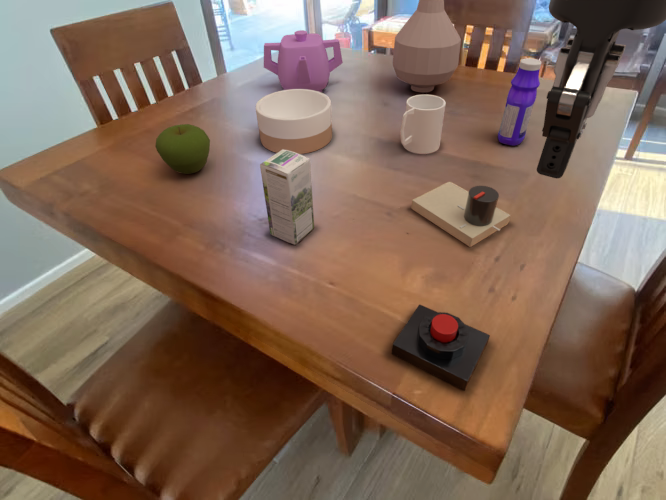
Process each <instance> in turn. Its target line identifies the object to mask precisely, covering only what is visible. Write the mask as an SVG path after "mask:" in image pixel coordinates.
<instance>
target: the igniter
mask: <svg viewBox="0 0 666 500" xmlns="http://www.w3.org/2000/svg"><path fill="white" fill-rule="evenodd" d="M440 314H446V315H450V316H452V317H453V318H454V319H455V320H456V321H457V323H458V330H457V334H456V337H455V339H454V340H453V341H451V342H448V343H442V342H439V341H437V340H435V339H434V338H433V337H432V335H431V332H430V329H431V324H432V320H433V318H434V317H435V316H437V315H440ZM490 337H491V335H490V334H489V333H487V332H483V331H482V330H479V329H478V328H475V327H473V326H470V325H468V324H466V323H464V321H463V320H462V319H461V318H460V317H459V316H456V315H454V314H452V313H449V312H445V311H443V312H441V311H437V310H433V309H431V308H430V307H426V306H424V305H422V304H418V306H417V307H416V308H415V310H414V311H413V313H412V314H411V316H410V317H409V319H408V320H407V322H406V323H405V325H404V326H403V327H402V329H401V331H400V332H399V334H398V336H397V337H396V338H395V339H394V341H393V342H392V346H391V347H392V349H391V355H392V356H395V357H397V358H399V359H401V360H402V361H405V362H407V363H408V364H411V365H413V366H414V367H416V368H419V369H421V370H422V371H425V372H427V373H428V374H431V375H432V376H434V377H436V378H438V379H440V380H442V381H444V382H445V383H448V384H450V385H452V386H454V387H456V388H458V389H460V390H462V391H466V389H467V387H468V385H469V383H470V381H471V379H472V377H473V375H474V372H475V371H476V369H477V367H478V364H479V362H480V360H481V358H482V356H483V354H484V352H485V350H486V348H487V346H488V343H489V340H490Z"/></svg>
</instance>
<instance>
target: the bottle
mask: <svg viewBox="0 0 666 500" xmlns="http://www.w3.org/2000/svg"><path fill="white" fill-rule="evenodd" d="M541 66H542V61H541V60H540V59H538V58H534V57H533V58H532V57H531V58H530V57H526V58H521V59H520V60H519V64H518V68H517V71H516V73H515V75H514V76H513V78H512V79H511V80H510V84H511V87H510V88H509V90H508V93H507V96H506V102H505V107H504V110H503V115H502V119H501V122H500V126H499V130H498V132H497V140H498V142H499V143H501V144H503V145H508V146H518V145H520V144H522V142H523V141H524V139H525V137H526V134H527V130H528V126H529V123H530V120H531V117H532V112H533V108H534V104H535V102H536V99H537V95H538V88H539V87H540V86H541V82H540V71H541Z"/></svg>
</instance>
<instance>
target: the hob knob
mask: <svg viewBox="0 0 666 500" xmlns="http://www.w3.org/2000/svg"><path fill="white" fill-rule="evenodd" d="M468 192H469V193H468V198H467V202H466V207H465V212H464V219H465V220H466V221H467V222H468V223H470V224H472V225H476V226H486V225H489V224H490V223H491V222H492V220H493V217H494V213H495V209H496V207H497V206H498V202H499V198H500V194H499V192H498V190H496V189H495V188H493V187H490V186H488V185H475V186H472V187H470V189H469V190H468Z"/></svg>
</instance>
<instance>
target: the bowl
mask: <svg viewBox="0 0 666 500" xmlns="http://www.w3.org/2000/svg"><path fill="white" fill-rule="evenodd" d="M332 113H333V111H332V101H331V98H330V97H329V96H328V95H327V94H325V93H323V92H318V91H314V90H308V89H290V90H284V89H282V90H278V91H274V92H271V93H269V94H266V95H264V96H263V97H261V98H260V99H259V100H258V101H257V102H256V104H255V115H256V121H257V127H258V132H259V138H260V139H259V140H260V143H261V144H262V146H263V147H264V148H265V149H266V150H268V151H270V152H273V153H275V154H277V153H278V152H280V151H281V150H282V149H284V150H289V151H292V152H295V153H298V154H300V155H303V154H308V153H309V154H310V153H312V152H316V151H319V150H321V149H324V147H326V146H328V144H330V142H331V141H332V139H333V121H332V120H333V119H332V118H333V115H332Z"/></svg>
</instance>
